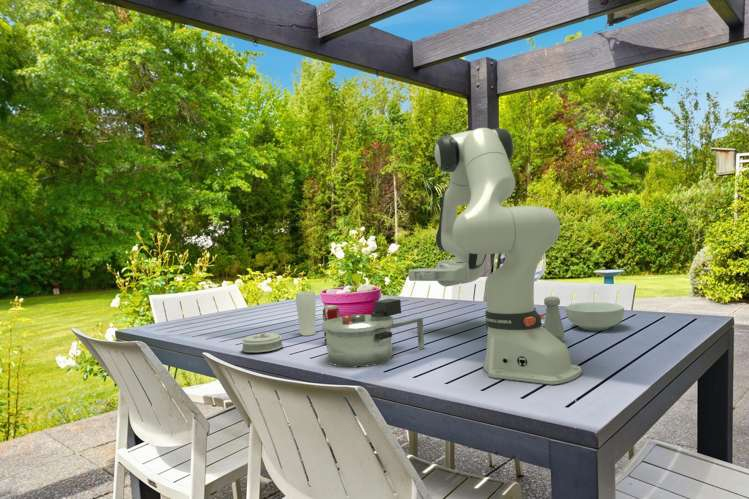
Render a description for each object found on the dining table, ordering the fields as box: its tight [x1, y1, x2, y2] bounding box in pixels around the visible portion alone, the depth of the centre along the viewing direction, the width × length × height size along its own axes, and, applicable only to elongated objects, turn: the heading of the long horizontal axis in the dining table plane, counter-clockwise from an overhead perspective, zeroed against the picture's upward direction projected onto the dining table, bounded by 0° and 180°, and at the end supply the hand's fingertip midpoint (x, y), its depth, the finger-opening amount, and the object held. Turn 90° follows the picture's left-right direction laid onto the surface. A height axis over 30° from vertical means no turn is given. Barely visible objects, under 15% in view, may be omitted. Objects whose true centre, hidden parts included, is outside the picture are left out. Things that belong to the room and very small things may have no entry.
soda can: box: [322, 304, 340, 345], centre depth 165 cm, size 5×5×12 cm
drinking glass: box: [295, 290, 317, 337], centre depth 181 cm, size 7×7×15 cm
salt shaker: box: [543, 296, 565, 342], centre depth 148 cm, size 6×6×13 cm
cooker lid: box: [321, 298, 402, 333], centre depth 145 cm, size 20×25×5 cm
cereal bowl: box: [565, 301, 625, 332], centre depth 163 cm, size 17×17×7 cm
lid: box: [241, 332, 284, 353], centre depth 162 cm, size 13×13×5 cm
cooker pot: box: [326, 317, 425, 367], centre depth 147 cm, size 22×27×9 cm
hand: (420, 276), depth 161 cm, fingers closed
